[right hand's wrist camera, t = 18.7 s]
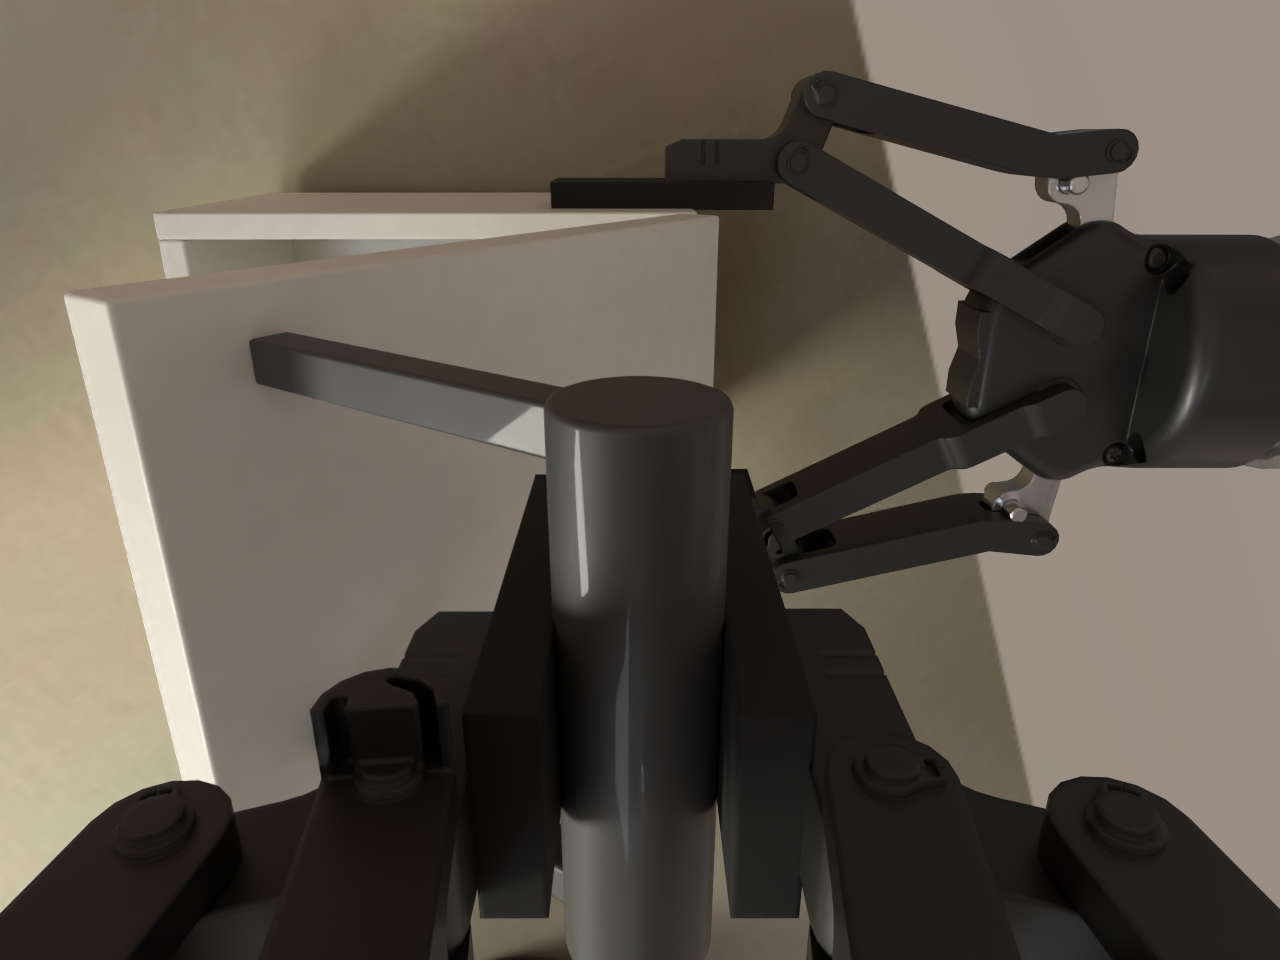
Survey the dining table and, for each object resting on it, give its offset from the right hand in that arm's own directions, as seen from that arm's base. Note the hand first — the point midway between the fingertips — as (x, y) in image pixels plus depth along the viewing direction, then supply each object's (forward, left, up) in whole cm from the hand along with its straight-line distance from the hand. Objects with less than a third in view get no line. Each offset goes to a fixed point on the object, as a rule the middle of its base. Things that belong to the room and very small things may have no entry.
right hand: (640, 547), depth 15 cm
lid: (-1, +3, -5) cm, 6 cm away
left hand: (0, +3, -14) cm, 15 cm away
